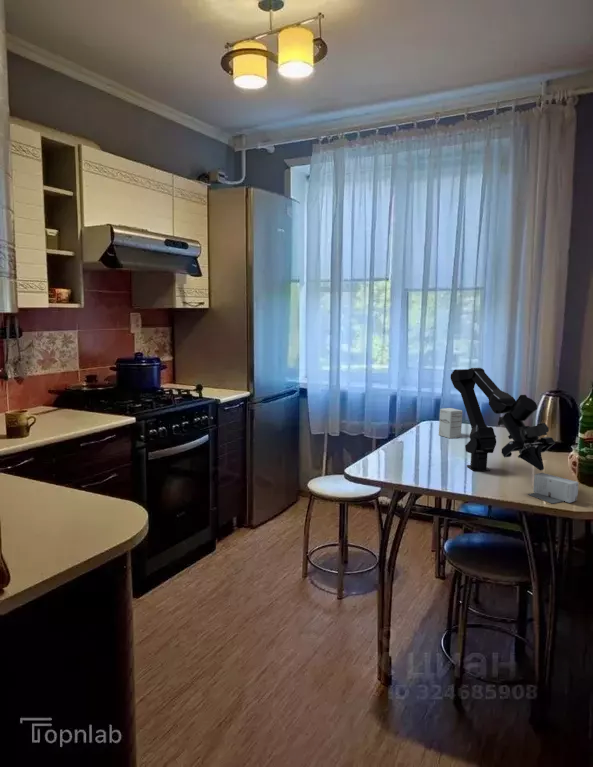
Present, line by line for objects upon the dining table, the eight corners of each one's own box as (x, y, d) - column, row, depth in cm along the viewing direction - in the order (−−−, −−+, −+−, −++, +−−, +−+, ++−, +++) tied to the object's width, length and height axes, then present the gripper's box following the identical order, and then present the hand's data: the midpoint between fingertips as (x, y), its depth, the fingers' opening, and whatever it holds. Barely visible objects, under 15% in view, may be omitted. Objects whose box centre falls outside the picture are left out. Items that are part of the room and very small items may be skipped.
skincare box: (533, 474, 177) (570, 483, 167) (542, 472, 179) (579, 481, 169) (532, 493, 178) (569, 503, 168) (541, 490, 180) (577, 500, 170)
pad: (528, 494, 176) (528, 493, 176) (546, 491, 180) (547, 490, 180) (552, 503, 168) (552, 502, 168) (571, 500, 172) (571, 499, 172)
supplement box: (438, 435, 259) (439, 408, 257) (450, 434, 262) (451, 407, 261) (449, 438, 253) (450, 411, 251) (461, 437, 256) (463, 410, 254)
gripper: (510, 416, 175) (537, 459, 166) (552, 412, 183) (579, 453, 175) (490, 436, 183) (514, 477, 174) (531, 431, 191) (556, 471, 183)
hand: (542, 469), depth 176 cm, fingers closed
